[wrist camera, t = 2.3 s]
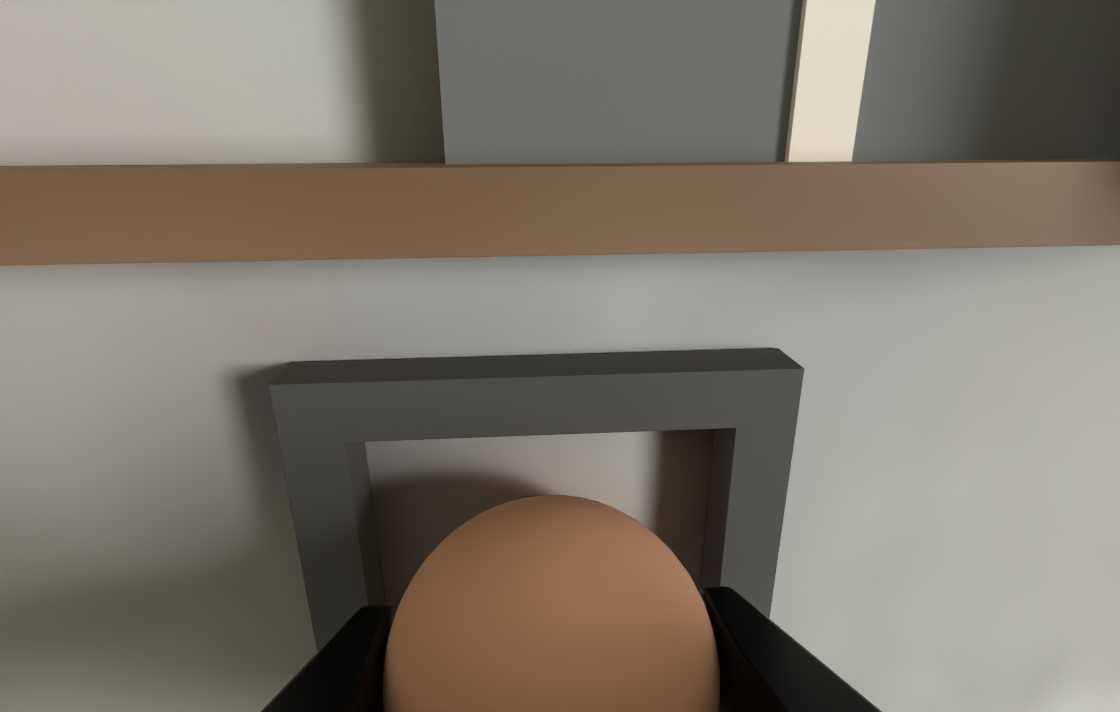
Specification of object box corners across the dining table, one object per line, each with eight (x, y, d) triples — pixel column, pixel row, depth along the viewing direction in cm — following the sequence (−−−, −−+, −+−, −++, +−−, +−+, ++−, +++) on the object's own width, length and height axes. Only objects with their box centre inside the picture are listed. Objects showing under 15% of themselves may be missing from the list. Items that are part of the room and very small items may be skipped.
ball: (666, 649, 10) (756, 955, 6) (424, 663, 10) (366, 990, 6) (680, 434, 9) (805, 657, 5) (401, 445, 8) (306, 690, 5)
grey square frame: (734, 702, 10) (751, 745, 10) (353, 727, 10) (340, 774, 9) (778, 348, 8) (803, 368, 8) (291, 362, 8) (268, 385, 7)
